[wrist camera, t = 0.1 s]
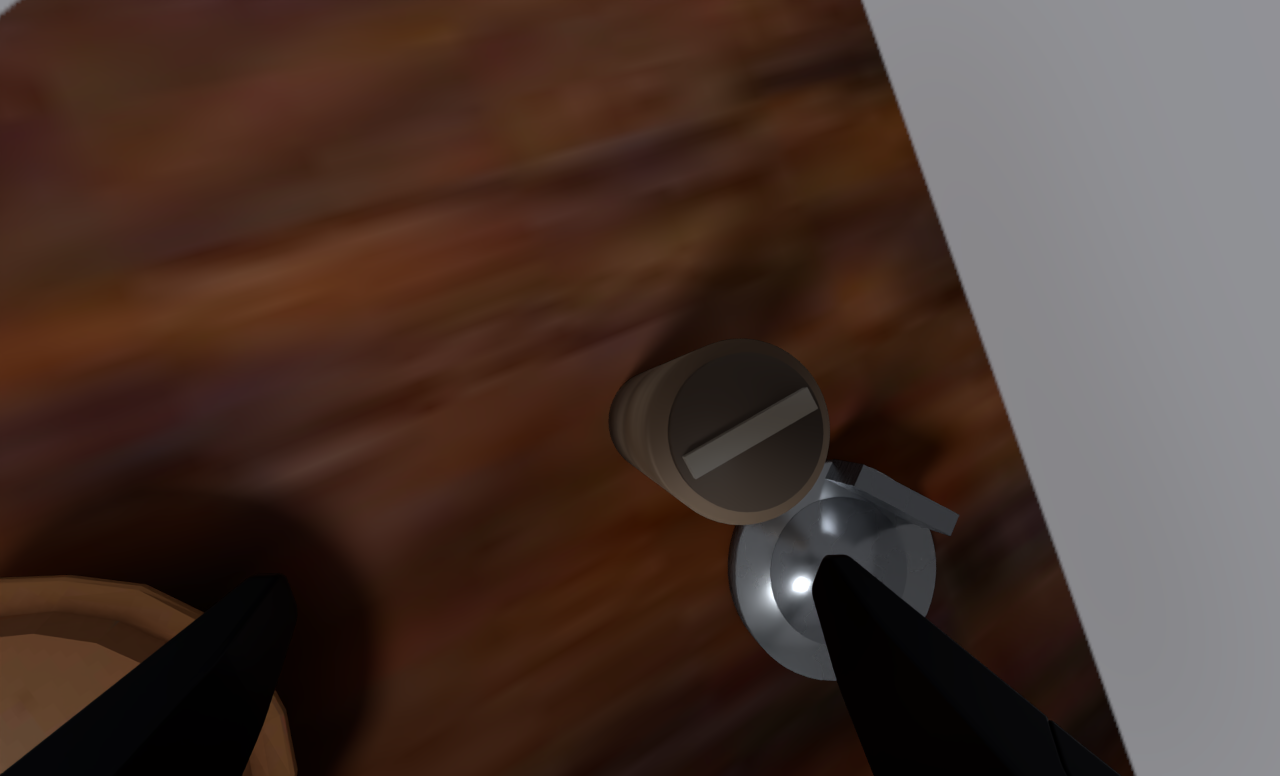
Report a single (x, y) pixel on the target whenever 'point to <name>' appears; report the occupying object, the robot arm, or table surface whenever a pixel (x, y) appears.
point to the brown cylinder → (726, 429)
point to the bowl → (828, 525)
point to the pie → (93, 658)
